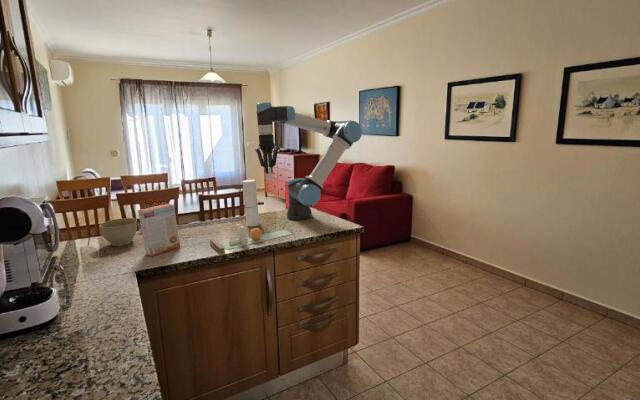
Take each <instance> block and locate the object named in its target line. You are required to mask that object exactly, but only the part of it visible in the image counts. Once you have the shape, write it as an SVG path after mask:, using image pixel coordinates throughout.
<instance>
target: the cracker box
mask: <svg viewBox="0 0 640 400" xmlns="http://www.w3.org/2000/svg"><path fill="white" fill-rule="evenodd" d="M137 213H138V219H139V223H140V228H141V236H142V239H143V240H142V241H143V246H144V251H145V255H147V256H149V257H153V256H157V255H160V254H162V253H163V254H164V253H166V252H169V251H172V250H175V249H178V248H181V242H180V236H179V231H178V230H179V229H178V224H177V217H176V211H175V205H174V204H172V203H164V204H160V205H154V206H151V207H147V208H141V209H138V210H137Z"/></svg>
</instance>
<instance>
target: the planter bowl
mask: <svg viewBox="0 0 640 400" xmlns="http://www.w3.org/2000/svg"><path fill="white" fill-rule="evenodd" d="M99 228H100V229H99V230H100V232H101V235H102V236H103V238H104V239H105V240H106V242H109V244H110V245H111V246H113V247H119V246H120V247H121V246H126V245H129V244H131V243H133V240H134V237H135V236H136V234H137V229H138V220H137V218H134V217H126V218H125V217H124V218H123V217H122V218H116V219H111V220H107V221H105V222H102V223H100V224H99Z"/></svg>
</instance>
